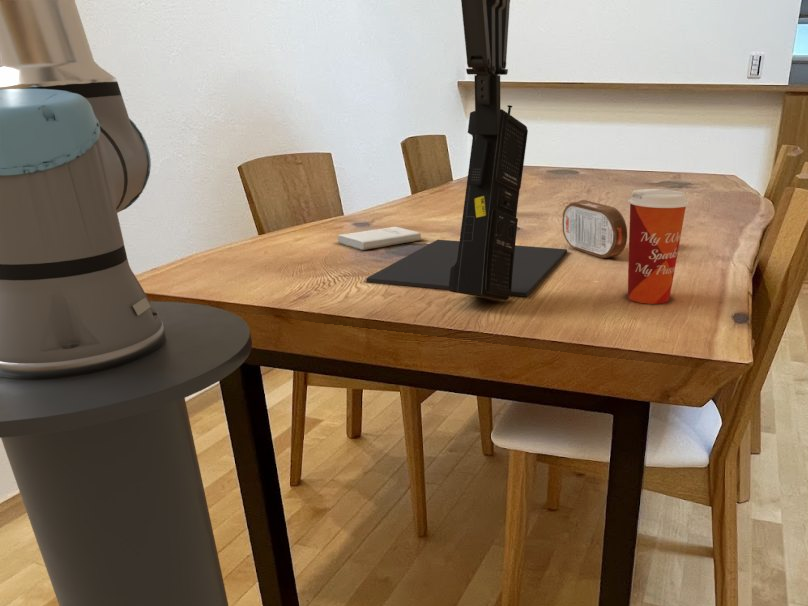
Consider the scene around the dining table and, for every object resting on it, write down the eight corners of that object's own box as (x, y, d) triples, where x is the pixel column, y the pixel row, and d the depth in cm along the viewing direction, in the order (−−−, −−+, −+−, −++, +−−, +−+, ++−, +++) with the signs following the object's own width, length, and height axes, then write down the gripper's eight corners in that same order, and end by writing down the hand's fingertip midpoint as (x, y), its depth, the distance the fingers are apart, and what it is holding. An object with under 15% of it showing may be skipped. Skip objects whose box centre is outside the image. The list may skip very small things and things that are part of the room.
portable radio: (482, 295, 80) (510, 84, 78) (441, 290, 83) (467, 86, 81) (512, 301, 87) (539, 107, 85) (474, 296, 90) (499, 108, 88)
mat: (366, 282, 96) (365, 278, 95) (437, 242, 120) (437, 239, 120) (526, 297, 90) (526, 292, 89) (567, 252, 114) (567, 249, 114)
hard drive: (338, 243, 119) (394, 234, 127) (363, 251, 113) (421, 240, 121) (337, 234, 118) (394, 225, 126) (363, 241, 113) (420, 231, 121)
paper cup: (639, 308, 86) (650, 198, 80) (609, 292, 92) (617, 189, 86) (689, 302, 88) (703, 195, 83) (657, 287, 95) (668, 187, 89)
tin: (626, 261, 109) (631, 209, 106) (612, 263, 108) (616, 210, 104) (572, 243, 121) (574, 196, 117) (558, 245, 119) (560, 197, 116)
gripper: (501, -121, 64) (502, 138, 74) (534, -90, 75) (531, 131, 85) (429, -115, 66) (439, 137, 75) (472, -86, 77) (476, 130, 87)
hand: (488, 134), depth 80 cm, fingers closed
